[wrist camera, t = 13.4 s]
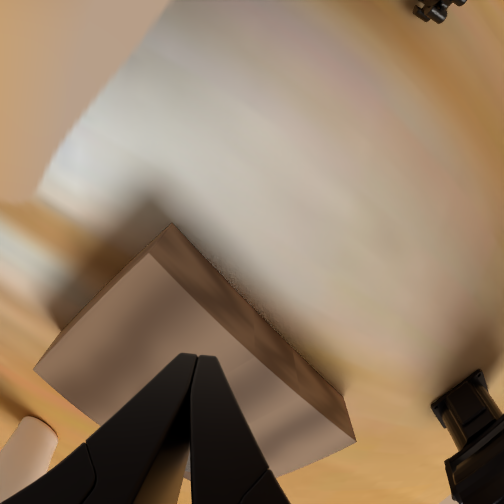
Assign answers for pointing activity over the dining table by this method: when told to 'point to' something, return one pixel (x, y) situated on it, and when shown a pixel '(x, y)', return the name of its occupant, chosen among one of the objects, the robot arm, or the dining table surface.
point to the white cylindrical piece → (25, 456)
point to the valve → (435, 9)
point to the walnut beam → (195, 342)
